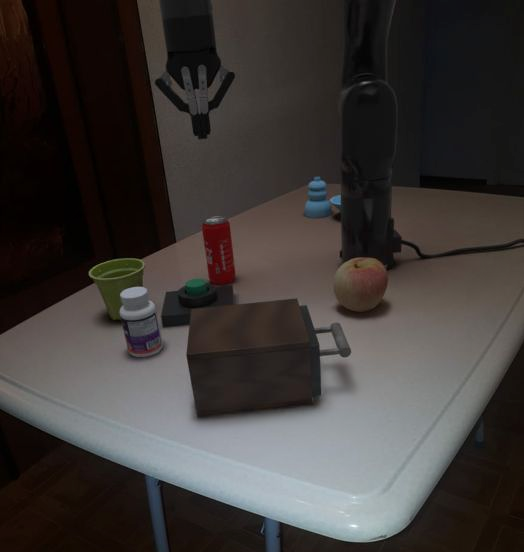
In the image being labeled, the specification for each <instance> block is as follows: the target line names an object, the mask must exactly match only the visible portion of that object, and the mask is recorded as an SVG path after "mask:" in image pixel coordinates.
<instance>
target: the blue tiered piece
mask: <svg viewBox="0 0 524 552" xmlns="http://www.w3.org/2000/svg"><path fill="white" fill-rule="evenodd" d="M307 187H308V192H307V196H308V198H309V199H308V200H307V201H306V203H305V204H304V216H306V217H308V218H313V219H314V218H315V219H316V218H325V217H328V216H330V215H332V213H333V211H332V208H333V207H332V206H334V207H335V208H336V209H337V210H338V211H339V212H341V194H339V195H334V196H333V197H331V198H330V199H327V196H328V191H327V189H326V188H327V183H326V182H325V181H324V180H321V177H320V176H314V177H313V180H312V181H310V182H309V183H308V185H307Z"/></svg>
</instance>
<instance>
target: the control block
mask: <svg viewBox="0 0 524 552" xmlns="http://www.w3.org/2000/svg"><path fill="white" fill-rule="evenodd" d="M206 283H207V290H208V291H207V292H206V293H204V294H200V295H187V293H186V287H185V285H183V286H182V287H180V288H179V289H178V290H172V291H166V292H165V295H164V300H163V305H162V310H161V314H160V319H161V323H162V328H171V327H181V326H182V327H183V326H190V317H191V309H199V308H208V307H218V306H227V305H235V295H234V286H233V284H230V285H228V284H227V285H218V286H217V285H215V284H213V283H212V282H211V283H209V282H206Z"/></svg>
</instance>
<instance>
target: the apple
mask: <svg viewBox="0 0 524 552" xmlns="http://www.w3.org/2000/svg"><path fill="white" fill-rule="evenodd" d="M388 285H389V273H388V271H387V269H386V268H385V267H384V265H383V264H382V263H381V262H380V261H378V260H377V259H374V258H354V259H351V260H349V261H347V262H345V263H344V264H342V265H341V264H340V266H339V267H338V269H337V270H336V271H335V274H334V276H333V282H332V287H333V288H332V289H333V294H334V297H335V298H336V300H337V302H339V304H340V305H341V306H343V307H345V308H346V309H347V310H349V311H352V312H355V313H364V312H368V311H370V310H372V309H374V308H375V307H376V306H378V305H379V304H380V303H381V301H382V300H383V298H384V296H385V294H386V292H387V289H388Z"/></svg>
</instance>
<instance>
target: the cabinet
mask: <svg viewBox="0 0 524 552" xmlns="http://www.w3.org/2000/svg"><path fill="white" fill-rule="evenodd" d="M300 306H301V305H300V302H299V299H298V298H297V297H295V298H287V299H275V300H268V301H267V300H265V301H258V302H248V303H239V304H238V303H237V304H234V305H227V306H218V307H208V308H199V309H191V317H190V325H188V326H189V327H188V336H187V345H186V352H185V354H186V361H187V367H188V373H189V378H190V384H191V391H192V395H193V396H192V397H193V402H194V407H195V412H196V417H197V418H200V417H212V416H219V415H221V416H222V415H230V414H240V413H241V414H242V413H249V412H258V411H268V410H269V411H270V410H277V409H287V408H295V407H296V408H297V407H305V406H313V405H314V400H313V399H314V396H313V395H312V374H311V354H310V340H309V337H308V333H307V330H306V327H305V323H304V320H303V316H302V313H301V309H300Z"/></svg>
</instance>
